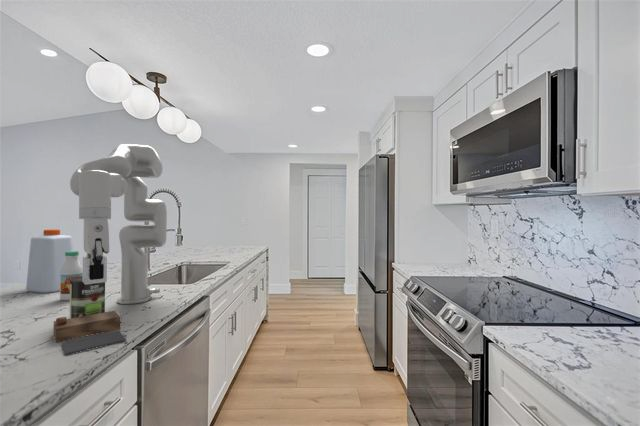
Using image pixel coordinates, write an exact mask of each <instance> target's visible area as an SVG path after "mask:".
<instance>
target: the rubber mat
mask: <svg viewBox="0 0 640 426" xmlns="http://www.w3.org/2000/svg"><path fill="white" fill-rule="evenodd" d="M120 342H121V343H125V342H127V339H126V337H125V336H124V335H123V333H122V332H120V330H114V331H109V332H104V333H99V334H95V335H90V336H85V337H81V338H76V339H71V340H67V341H62V342H61V347H62V350H63V353H64V356H65V357H66V356H70V355H74V354H77V353H76V352H79V353H81V352H80V351H83V352H85V351H84V350H87V349H91V350H93V349H92V348H96V347H100V346H104V347H106V346H105V345H108V346H112V345H111V344H113V345H116V344H115V343H117V344H120ZM100 348H101V347H100ZM96 349H97V348H96ZM87 351H88V350H87ZM73 353H74V354H73Z"/></svg>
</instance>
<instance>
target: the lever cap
mask: <svg viewBox="0 0 640 426" xmlns="http://www.w3.org/2000/svg"><path fill="white" fill-rule="evenodd" d="M94 257H95V256H94ZM103 264H104V278H103V279H96V280H90V265H91V256H90V255H87V254H86V256H83V257H82V269H83V276H82V282H83V283H84V284H85V285H86V284H94V283H103V282H105V283H107V282H108V281H107V280H108V278H107V276H108V275H107V273H108V271H107V270H108V258H107V256H104V255H103Z"/></svg>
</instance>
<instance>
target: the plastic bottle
mask: <svg viewBox="0 0 640 426" xmlns="http://www.w3.org/2000/svg"><path fill="white" fill-rule="evenodd" d="M73 248H74V247H73V237H72V235H69V234H68V235H67V234H66V235H65V234H61V230H60V229H54V228H53V229H43V234H42V235H35V236H32V237H31V239H30V245H29V255H28V266H27V275H26V286H25V287H26V288H25V289H26V291H27V292H29V293H39V294H50V293H55V292H60V274H61V269H62V267H63V265H64V263H65V260H66V257H65V252H67V251H74V250H73Z"/></svg>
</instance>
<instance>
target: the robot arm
mask: <svg viewBox="0 0 640 426" xmlns="http://www.w3.org/2000/svg"><path fill="white" fill-rule="evenodd" d="M162 173H163V163H162V160H161V159H160V156H159V154H158V153H157V151H156V150H155V149H154V147H152V146H149V145H146V144H145V145H143V144H131V143H129V144H128V143H127V144H126V143H125V144H124V143H123V144H119V145H117V146H115V148H114V149H113V150H112V151H111V152H110V153H109V154H108V155H107V157H102V158H100V159H99V158H98V159H95V160H91V161H89V162H88V161H87V162H86V163H83V164H81V165H80V166H79V167H78V168H77V169H76V170H75V171H74V172H73V173H72V175H71V177H70V181H69V186H70V191H72V193H73V194H74V195H76V196H78V219H79V220H83V251H84V252H85V253H86V256H87V255H90V256H91V265H90V280H96V279H103V278H104V264H103V256H104V254H107V255H108V254H109V253H110V233H109V231H110V229H109V223H108V220H111V219H112V198H119V197H122V196H124V197H123V214H124V218H125V220H126V221H129V222H135V223H136V222H139V223H143V222H144V223H147V222H149V223H150V222H151V223H153V224H130V225H125V226H123V227H122V228H121V229H120V230H119V234H118V238H119V244H120V251H121V252H120V253H121V271H120V272H121V277H120V279H121V283H120V284H121V285H120V286H121V287H120V289H121V293H120V296H119V297H118V298H117V299H116V303H117V304H121V305H133V304H142V303H145V302H148V301H150V300H151V299H152V294H159V293H160V288H159V287H158V288H155V287H153V288H149V287H148V277H149V276H148V274H149V273H148V272H149V271H148V267H149V266H148V262H149V261H148V255H147V254H146V252H144V250H143V249H145V248H161V247H163V246H165V245H166V241H167V224H168V223H167V215H168V214H167V206H166V203H165V202H164V201H163V200H161V199H152V198H151V199H150V198H148V186H147V184H146V183H145V182H144V181H143V179H141V178H144V179H145V178H147V179H148V178H150V179H155V178H160V177H161V175H162ZM94 256H95V257H94Z"/></svg>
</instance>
